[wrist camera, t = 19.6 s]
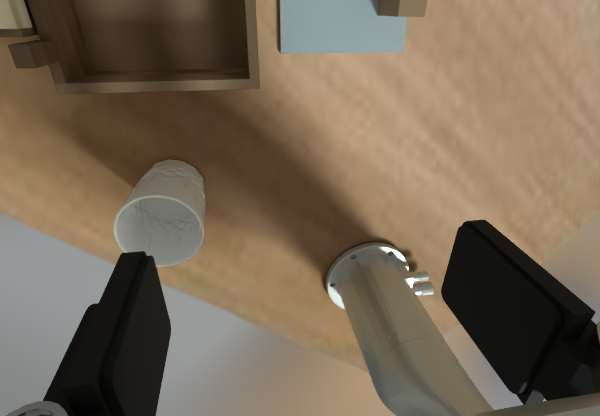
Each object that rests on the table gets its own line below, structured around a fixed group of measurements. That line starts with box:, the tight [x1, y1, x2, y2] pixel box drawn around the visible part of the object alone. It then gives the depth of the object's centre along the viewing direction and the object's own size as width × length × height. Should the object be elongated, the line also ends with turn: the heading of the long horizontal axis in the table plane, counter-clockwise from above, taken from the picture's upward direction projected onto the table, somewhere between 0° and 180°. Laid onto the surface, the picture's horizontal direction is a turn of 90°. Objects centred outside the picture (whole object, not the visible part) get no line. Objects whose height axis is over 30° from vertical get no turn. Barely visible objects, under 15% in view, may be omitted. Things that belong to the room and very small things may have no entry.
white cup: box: [113, 159, 205, 267], centre depth 36 cm, size 8×8×10 cm
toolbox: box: [0, 0, 260, 94], centre depth 27 cm, size 20×12×11 cm, turn 90°
